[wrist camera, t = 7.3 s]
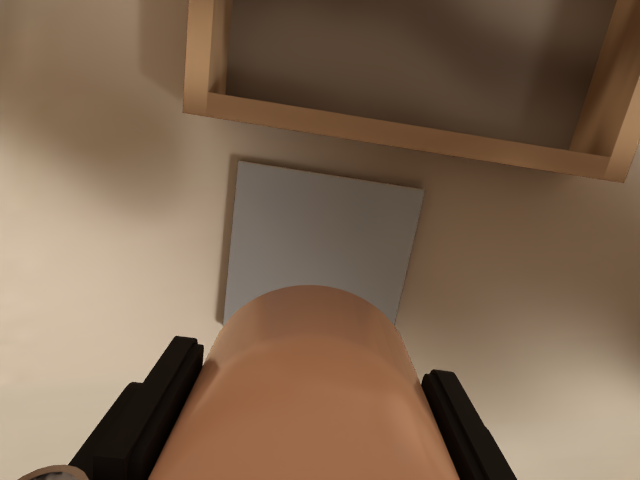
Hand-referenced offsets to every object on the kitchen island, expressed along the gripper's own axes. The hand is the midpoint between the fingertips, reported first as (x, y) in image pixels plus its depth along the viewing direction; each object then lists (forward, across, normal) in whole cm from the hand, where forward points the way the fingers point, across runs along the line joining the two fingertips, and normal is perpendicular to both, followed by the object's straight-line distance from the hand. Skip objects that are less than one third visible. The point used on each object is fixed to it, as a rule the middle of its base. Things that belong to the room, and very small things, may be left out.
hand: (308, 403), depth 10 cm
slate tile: (+12, 0, 0) cm, 12 cm away
